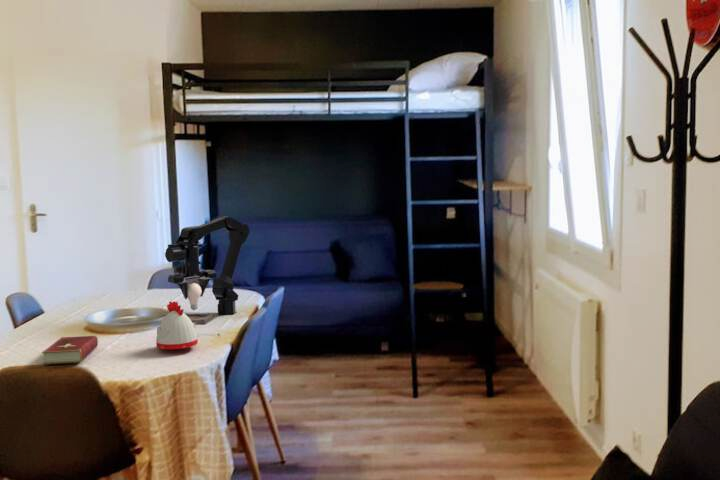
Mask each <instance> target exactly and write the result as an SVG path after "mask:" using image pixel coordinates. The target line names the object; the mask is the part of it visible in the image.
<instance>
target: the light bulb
mask: <svg viewBox="0 0 720 480" xmlns="http://www.w3.org/2000/svg"><path fill="white" fill-rule="evenodd" d="M201 292H202V290H201V287H200V284H198V283H197V282H196V283H195V282H192V283H189V284H187V299H188V302H189V305H190V309H191V310H192V311H195V310H197V309H199V308H198V306H199V299H200V297H201V296H200V295H201Z"/></svg>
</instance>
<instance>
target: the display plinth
mask: <svg viewBox="0 0 720 480" xmlns="http://www.w3.org/2000/svg"><path fill="white" fill-rule="evenodd" d="M185 314H186V315H187V316H188V317H189V319H190V320H191V321H192V323H195V325H207V324H208V323H210V322H211V321H214V319H216V318H218V314H217V315H216V314H215V313H185Z"/></svg>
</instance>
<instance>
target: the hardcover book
mask: <svg viewBox="0 0 720 480" xmlns="http://www.w3.org/2000/svg"><path fill="white" fill-rule="evenodd" d="M98 345H99V340H98V336H97V335H79V336H62V337H60V338H58V340H56V341H55V342H54V343H52V344H51V345H50V346H49V347H47V348H46V349H45V350H43V351H42V354H43V358H44V360H43V361H44V362H43V363H42V365H57V364H58V365H59V364H70V363H71V364H72V363H82V362H83V361H84V359H86V358H87V357H88V356H89V355H90V354H91V353H92V352H93V351H95V349H96V348H97V347H98Z"/></svg>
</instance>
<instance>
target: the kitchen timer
mask: <svg viewBox="0 0 720 480" xmlns="http://www.w3.org/2000/svg"><path fill="white" fill-rule="evenodd" d="M166 307H167V310H168V313H167V314H166V315H165V316H164V318H163V319H162V320H161V322H160V324H159V326H158V327H157V328H156V338H155V339H156V342H155V344H156V348H158V349H163V350H182V349H186V348H190V347H194V346H197V345H198V334H197V330H196V324H195V323H192V321H191V320H190V319H189V317H188V316H187V315H186V314H187V313H184V308H183V309H182V306H181V304H180V305H179V303H178V301H174V300H173V301H169V303H168V304H166Z"/></svg>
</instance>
